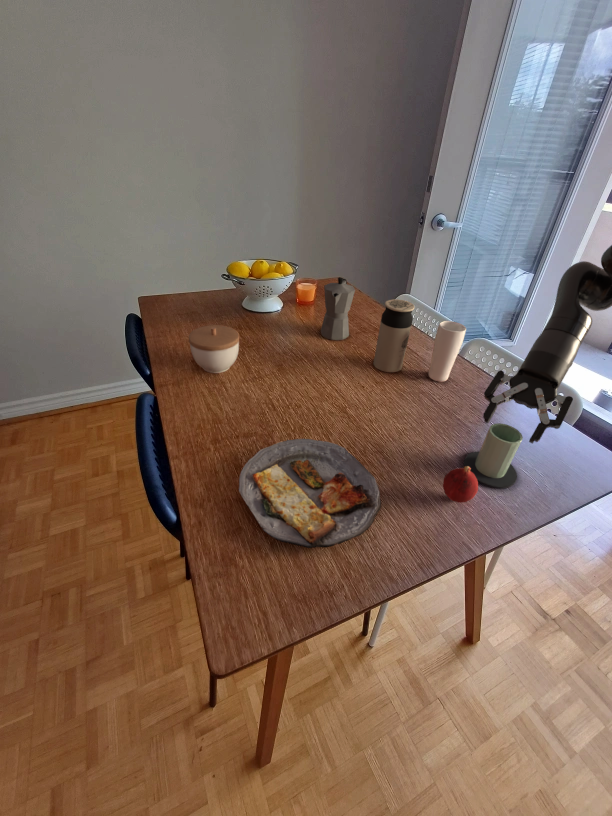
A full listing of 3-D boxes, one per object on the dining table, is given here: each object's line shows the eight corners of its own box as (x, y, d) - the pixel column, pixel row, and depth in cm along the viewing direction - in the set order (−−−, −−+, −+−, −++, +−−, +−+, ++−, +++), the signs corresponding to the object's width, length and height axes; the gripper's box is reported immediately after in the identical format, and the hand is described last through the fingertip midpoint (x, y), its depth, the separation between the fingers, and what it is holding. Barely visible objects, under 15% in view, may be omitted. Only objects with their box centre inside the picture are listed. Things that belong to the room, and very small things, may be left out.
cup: (495, 456, 82) (510, 422, 77) (511, 477, 77) (529, 442, 72) (469, 458, 81) (483, 424, 76) (484, 479, 76) (500, 444, 71)
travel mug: (367, 364, 112) (377, 302, 101) (385, 356, 116) (397, 296, 106) (389, 376, 107) (402, 313, 97) (407, 367, 112) (422, 306, 101)
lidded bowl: (245, 375, 103) (243, 336, 97) (195, 381, 99) (190, 341, 93) (235, 352, 113) (233, 316, 106) (189, 358, 109) (184, 320, 102)
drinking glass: (453, 384, 105) (470, 332, 97) (428, 383, 105) (443, 331, 96) (446, 371, 111) (462, 321, 102) (422, 370, 111) (435, 319, 102)
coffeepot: (345, 345, 120) (352, 286, 110) (315, 340, 122) (319, 282, 112) (353, 325, 133) (361, 271, 122) (326, 321, 134) (331, 267, 124)
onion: (470, 516, 70) (485, 484, 65) (437, 506, 71) (448, 474, 66) (471, 492, 74) (485, 461, 69) (439, 483, 76) (451, 452, 71)
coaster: (498, 451, 84) (499, 449, 84) (526, 486, 76) (527, 484, 76) (454, 454, 83) (455, 453, 82) (479, 490, 75) (480, 489, 74)
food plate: (404, 515, 69) (409, 502, 67) (289, 580, 58) (290, 566, 56) (322, 434, 85) (324, 421, 83) (221, 473, 75) (219, 459, 72)
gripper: (512, 338, 77) (470, 410, 76) (594, 365, 70) (549, 445, 69) (511, 353, 83) (473, 420, 83) (586, 380, 76) (545, 453, 76)
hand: (508, 431), depth 76 cm, fingers open, 8 cm apart
